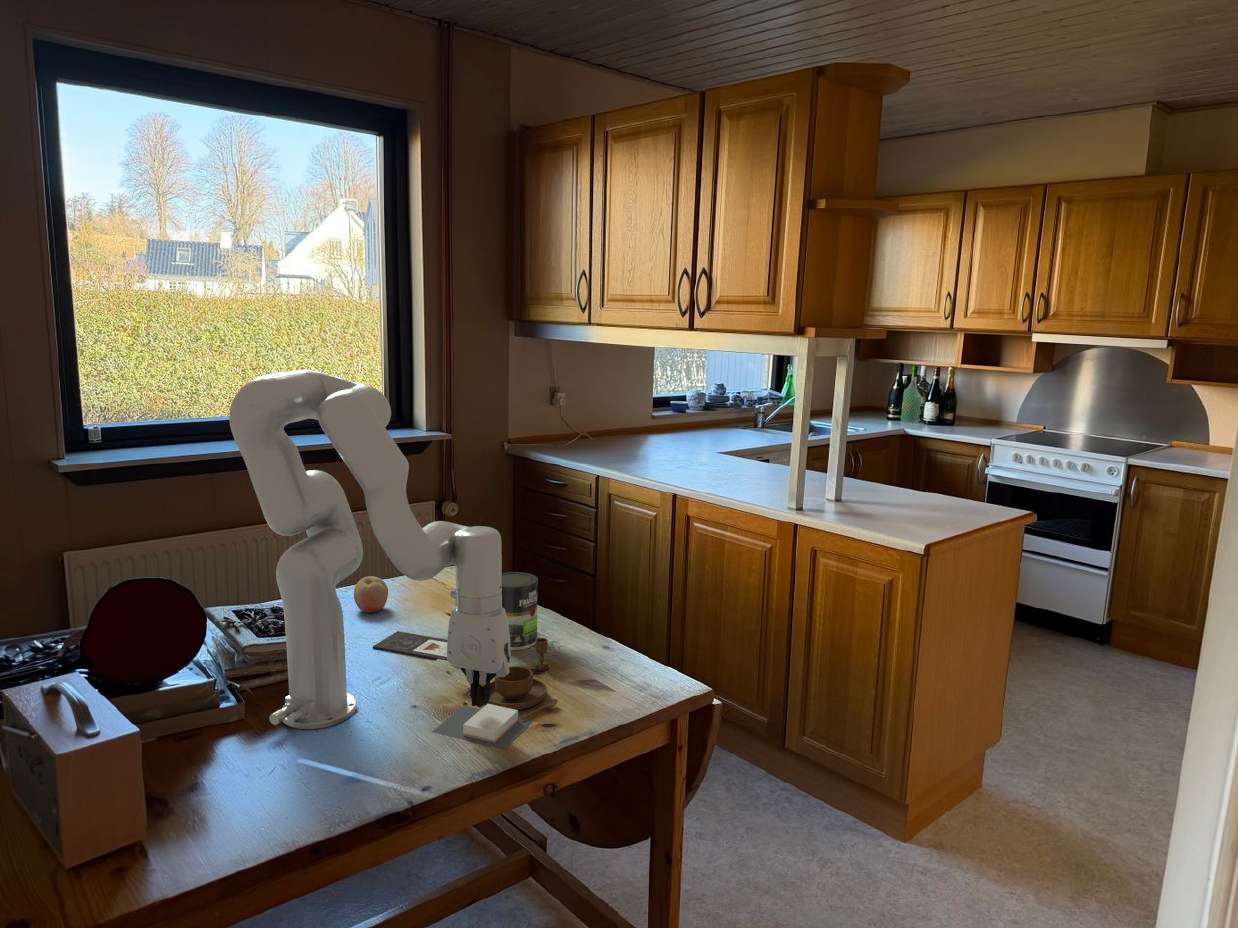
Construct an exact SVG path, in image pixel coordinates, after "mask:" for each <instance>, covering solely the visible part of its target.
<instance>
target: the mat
mask: <svg viewBox="0 0 1238 928" xmlns="http://www.w3.org/2000/svg"><path fill="white" fill-rule="evenodd" d="M481 709H482V708H478V707H477V708H476V707H473V706H469V705H468V706H467V705H463V706H461V707H460V708H459V709H458V710H457V711H456V712H454V713H453V714H452V715H450V716H449V717H448V718H447V719H446V720H445V721H443V722H442V723H440V725H438V726H437V727H436V728H435V729H433V730H431V732H432V733H436V734H439V735H443V736H448V737H452V738H456V739H461V740H464V741H468V742H469V741H470V742H473V743H478V744H482V745H485V746H489V747H494V748H497V749H498V748H499V749H502V750H506V749H507V748H508V747H509V746H510V745H511V744H512V743H513V742H514V741H516V740H517V738H518V737H520V736H521V734H522V733H523V732H524V731H525V730H527V728H528V727H529V726H530V725H532V723H534V720H529V719H526V718H524V719H520V718H521V717H518V721H517V722H516V723H515V724H514V725H513V726H512V727H511V728H510V729H509V730H508V731H507V732H506V733H505V734H504V735H503V736H502V737H501V738H500V739H498V740H497V741H496V742H495V743H493V742H489V741H484V740H480V739H476V738H472V737H468V736H464V735H463V724H464V723H466V722H467V721H468V720H469V719H470V718H471V717H473V716H474V715H475V714H476V713H477V712H479V711H480V710H481Z"/></svg>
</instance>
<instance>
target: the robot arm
mask: <svg viewBox="0 0 1238 928" xmlns="http://www.w3.org/2000/svg"><path fill="white" fill-rule="evenodd" d="M228 418H229V427H230V430H231V434H232V436H233V439H234V442H235V444H236V445H237V447H238V450H239V452H240V455H241V457H242V459H243V461H244V464H245V466H246V468H247V472H248V474H249V477H250V482H251V483H252V484H251V485H252V486H253V490H254V491H255V495H256V497H257V501H258V503H259V506H260V508H261V512H262V514H263V517H264V519H265V521H266V523H267V525H268V527H269V528H270V529H271V530H272V531H273V532H274V533H276V534H278V535H280V536H283V537H286V536H287V537H288V536H289V537H290V536H291V537H292V536H295V535H298V534H300V533H301V534H302V533H303V532H306V535H307V537H306V538H304V539H302V540H300V541H298V542H296V543H295V544H293V545H291V546H290V547H289V548H288V549H286V551H284V553H283V554H282V555H281V556H280V558H279V560H278V562H277V565H276V570H275V571H276V572H275V574H276V576H275V577H276V578H275V579H276V583H277V587H278V590H279V594H280V598H281V604H282V607H283V608H282V609H283V616H284V618H283V619H284V631H285V640H286V644H285V646H286V658H287V660H286V661H287V677H288V693H289V695H287V696H285V699H284V700H285V703H284V704H283V705H282V708H281V709H278V710H276V711H275V712H273V713H271V714H270V715H269V717H268V718H269V722H270V723H271V724H272V725H274V726H276V725H278V724H280V723H281V722H282V723H283V724H285V725H286V726H288V727H290V728H294V729H298V730H299V729H300V730H316V729H323V728H327V727H328V728H329V727H332V726H335V725H338V724H341V723H342V722H345V721H346V720H348V719H349V718H351V717H352V716H353V714H355V712H356V711H357V707H358V705H357V700H356V697H354V695H352V694H351V693H349V692H348V690H347V686H348V685H347V670H346V669H347V666H346V665H347V664H346V645H345V643H346V642H345V625H344V623H345V622H344V614H343V612H344V611H343V607H342V604H341V601H340V598H339V596H338V594H337V585H338V584H339V583H340V582H342V581H343V580H345V579H346V578H347V577H349V576H351V575H352V574H353V573H354V572H356V570H358V568H359V566H360V565H361V563H362V561H363V558H364V557H363V556H364V549H363V542H362V539H361V536H360V533H359V530H358V527H357V523H356V521H355V519H354V516H353V513H352V510H351V508H350V504H349V501H348V498H347V495H346V494H345V491H344V489H343V487H342V485H341V484H340V483H339V481H338V480H337V479H336V478H335V477H334V476H333V475H331V474H329V473H328V472H325V471H323V470H320V469H319V470H318V469H313V470H312V469H310V470H306V467H305V466H304V463H303V461H302V458H301V454H300V452H299V448H298V447H297V445H296V443H295V442H294V441H293V440H292V438H291V437H290V436H289V435H288V434H287V433H286V431H285V429H284V428H285V426H287V425H288V424H293V423H296V422H300V421H304V420H308V419H310V420H311V419H313V420H316V421H318V423H319V426H320V427H321V429H322V431H323V433H324V434H325V436H326V438H327V439H328V440H329V442H330V443H331V444H332V446H333V447H334V449H335V450H336V452H337V453H338V455H339V456H340V457H341V459H342V461H343V462H344V463H345V465H346V467H347V468H348V469H349V471H350V473H351V474H352V475H353V477H354V478H355V480H356V481H357V482H358V484H359V486H360V487H361V489H362V491H363V493H364V494H363V495H364V501H365V507H366V510H367V511H366V512H367V515H368V520H369V523H370V527H371V528H372V532H373V534H374V536H375V538H376V540H377V542H378V543H379V545H380V547H381V548H382V549H383V551H384V552H385V554H386V556H387V557H388V558H389V560H390V561H391V563H392V564H393V565H394V566H395V567H396V569H397V570H398V571H399V572H401V574H402V575H404V576H405V577H406V578H408V579H411V580H413V581H417V582H425V581H429V580H431V579H433V578H434V577H436V576H437V575H438V574H439V573H441V572H442V571H443V570H444V569H446V568H447V567H450V566H453V565H454V566H455V590H454V589H452V590H451V591H450V595H449V596H450V598H452V599H454V600H455V606H453V607H452V608H451V610H450V611H451V612H450V617H449V621H448V629H447V639H446V640H447V659H448V661H447V662H448V663H449V664H450V665H451V666H452V667H453V668H455V669H457V670H459V671H460V670H461V672H462V673H463V674H464V675H465V677H466V681H467V683H468V684H469V686H470V688H469V690H470V693H469V694H470V696H469V697H470V698H471V707H477V708H479V709H482V708H483V707H484V705H485V704H487V702H488V701H489V699H490V682H492V681H493V679H495V677H505V676H507V675H508V674H509V673H510V671H509V667H510V666H509V663H510V662H511V656H512V655H511V652H512V650H511V648H510V634H509V626H508V620H507V615H506V611H505V609H504V608H502V573H503V572H502V569H503V568H502V566H503V565H502V562H503V561H502V557H503V556H502V536H501V534H500V532H499V530H497V529H496V528H494V527H490V526H484V525H483V526H482V525H474V526H466V525H462V524H458V523H454V522H450V521H444V520H438V521H437V520H436V521H433V522H431V523H428V524H427V525H424V527H422V526H421V525H420V523H419V522H418V520H417V519H416V517H415V516H414V515H415V514H414V513H413V511H412V510H411V506H410V504H409V500H408V495H407V483H408V477H409V468H410V463H409V461H408V459H407V458H406V456H405V455H404V453H403V452H402V451H401V449H400V447H399V446H398V445H397V443H396V441H395V440H394V439H393V437H392V435H391V434H390V433H389V431H388V430H387V426H388V425H389V423H390V421H391V418H392V408H391V405H390V402H389V400H388V399H387V397H386V396H385V395H384V393H382V392H381V391H380V390H378V389H376V388H374V387H372V386H369V385H367V384H364V383H359V382H357V381H352V380H350V379H345V378H342V377H339V376H335V375H331V374H329V373H324V372H322V371H317V370H311V369H298V370H291V371H282V372H274V373H269V374H265V375H261V376H259V377H256V378H254V379H252V380H250V381H247V383H245V384H244V385H243V386H242V387H241V388H240V389H239V390H238V392H237V393H236V394H235V396H234V398H233V399H232V402H231V405H230V408H229V416H228Z"/></svg>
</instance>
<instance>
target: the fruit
mask: <svg viewBox="0 0 1238 928" xmlns="http://www.w3.org/2000/svg"><path fill="white" fill-rule="evenodd" d="M353 599H354V600H353V601H354V602H355V605H356V606H357V607H358V609H359V610H360V611H362V612H363V613H366V614H372V613H377V612H379V611H381V610H382V609H384V607H385V606H386V604H387V601H388V599H389V588H388V586H387V583H386V582H385V581H384V580H383V579H382V578H380V577H377V576H373V575H370V576H368V575H367V576H364V577H363V578H361V579H360V580H359V581H357V583H356V585H355V586H354V589H353Z"/></svg>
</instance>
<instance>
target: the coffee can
mask: <svg viewBox="0 0 1238 928" xmlns="http://www.w3.org/2000/svg"><path fill="white" fill-rule="evenodd" d="M538 584H539V578H538V577H537V575H535V574H533V573H528V572H522V571H509V572H508V571H507V572H502V608H504V609H505V611H506V615H507V620H508V626H509V634H510V648H511V651H521V650H522V651H523V650H527V649H529V648H532V647H535V640H536V639H538Z"/></svg>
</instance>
